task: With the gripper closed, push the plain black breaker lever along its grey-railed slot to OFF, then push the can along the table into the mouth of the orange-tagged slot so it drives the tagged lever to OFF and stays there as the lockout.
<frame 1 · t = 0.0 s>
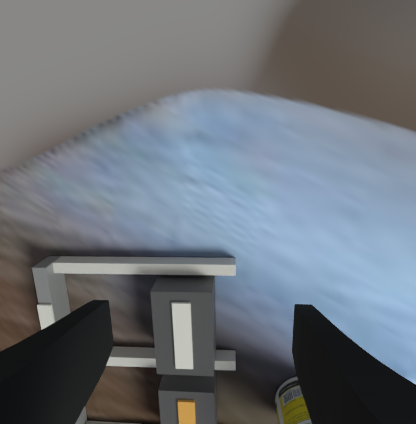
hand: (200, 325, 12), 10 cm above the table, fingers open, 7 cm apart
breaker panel: (154, 351, 24), on the table
breaker B: (186, 323, 21), point 2 cm above the table, slide at 0.0 cm
supplement bottle: (303, 395, 24), on the table
breaker A: (190, 411, 23), point 2 cm above the table, slide at 0.0 cm
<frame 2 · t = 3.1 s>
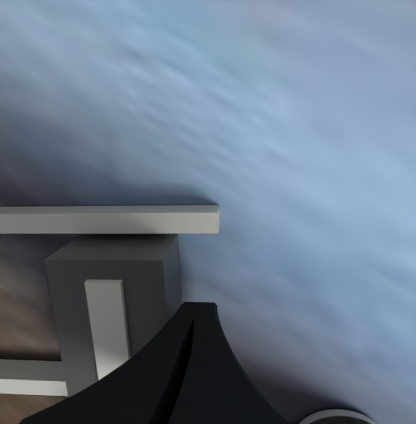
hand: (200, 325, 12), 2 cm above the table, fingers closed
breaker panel: (89, 369, 15), on the table
breaker B: (125, 321, 12), point 2 cm above the table, slide at 0.2 cm, touching gripper
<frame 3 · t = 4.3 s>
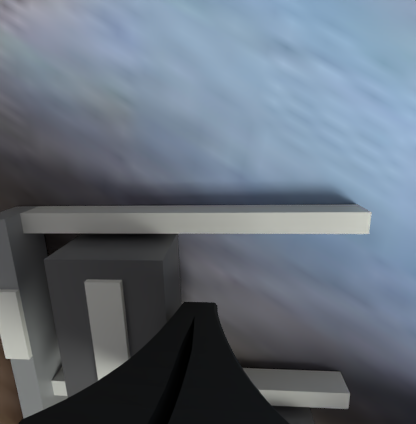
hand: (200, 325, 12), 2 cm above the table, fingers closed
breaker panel: (198, 373, 14), on the table
breaker B: (124, 321, 12), point 2 cm above the table, slide at 5.6 cm, touching gripper
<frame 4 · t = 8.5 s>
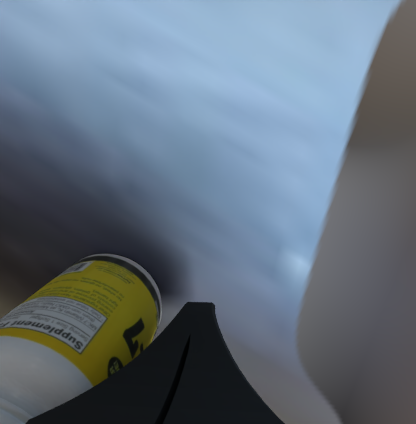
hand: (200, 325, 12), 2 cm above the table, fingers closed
supplement bottle: (115, 297, 14), on the table, touching gripper
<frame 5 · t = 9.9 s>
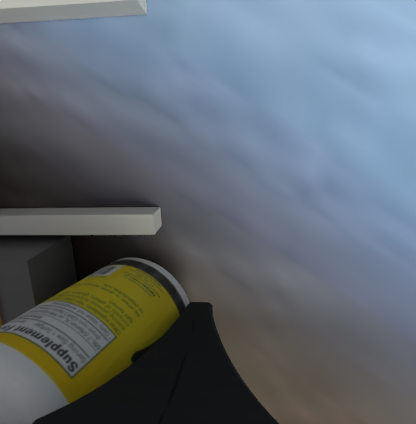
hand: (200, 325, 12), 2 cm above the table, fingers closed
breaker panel: (13, 217, 13), on the table
supplement bottle: (147, 304, 13), on the table, touching breaker A, gripper
breaker A: (15, 320, 12), point 2 cm above the table, slide at 2.4 cm, touching supplement bottle
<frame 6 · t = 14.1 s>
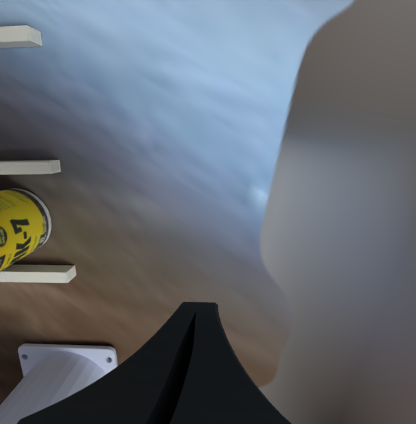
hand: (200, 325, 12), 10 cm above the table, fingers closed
supplement bottle: (24, 218, 22), on the table
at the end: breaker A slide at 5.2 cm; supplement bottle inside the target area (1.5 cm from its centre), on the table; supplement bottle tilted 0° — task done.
